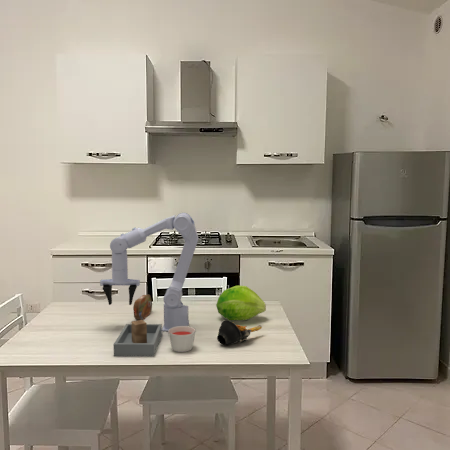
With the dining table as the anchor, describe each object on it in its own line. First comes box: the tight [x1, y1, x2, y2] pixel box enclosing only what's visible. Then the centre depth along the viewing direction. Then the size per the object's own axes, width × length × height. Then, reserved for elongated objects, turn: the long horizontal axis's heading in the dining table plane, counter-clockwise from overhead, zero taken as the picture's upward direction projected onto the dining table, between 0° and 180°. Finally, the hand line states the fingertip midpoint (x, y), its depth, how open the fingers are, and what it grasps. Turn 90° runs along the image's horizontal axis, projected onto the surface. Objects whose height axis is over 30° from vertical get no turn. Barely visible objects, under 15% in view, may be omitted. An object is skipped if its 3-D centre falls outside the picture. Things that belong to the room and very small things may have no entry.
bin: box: [113, 323, 163, 357], centre depth 163 cm, size 13×20×4 cm, turn 0°
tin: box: [132, 294, 153, 321], centre depth 193 cm, size 15×3×8 cm, turn 168°
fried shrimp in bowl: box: [216, 319, 263, 346], centre depth 167 cm, size 9×11×18 cm
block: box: [130, 320, 148, 343], centre depth 162 cm, size 4×4×7 cm
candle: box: [168, 325, 196, 353], centre depth 160 cm, size 9×9×6 cm
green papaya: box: [215, 285, 267, 322], centre depth 190 cm, size 15×20×14 cm
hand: (120, 304), depth 178 cm, fingers open, 7 cm apart
